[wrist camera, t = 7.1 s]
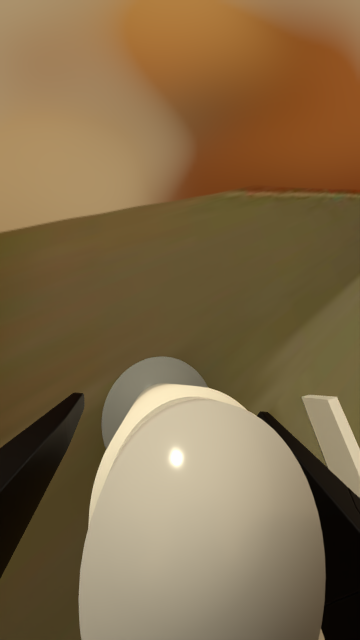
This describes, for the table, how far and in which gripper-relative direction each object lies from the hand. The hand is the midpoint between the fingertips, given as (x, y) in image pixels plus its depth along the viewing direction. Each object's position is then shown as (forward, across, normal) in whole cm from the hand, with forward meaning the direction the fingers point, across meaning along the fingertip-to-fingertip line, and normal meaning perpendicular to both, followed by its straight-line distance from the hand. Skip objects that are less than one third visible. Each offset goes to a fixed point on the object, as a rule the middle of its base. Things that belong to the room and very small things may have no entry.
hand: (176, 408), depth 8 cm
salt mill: (+4, 0, +6) cm, 8 cm away
